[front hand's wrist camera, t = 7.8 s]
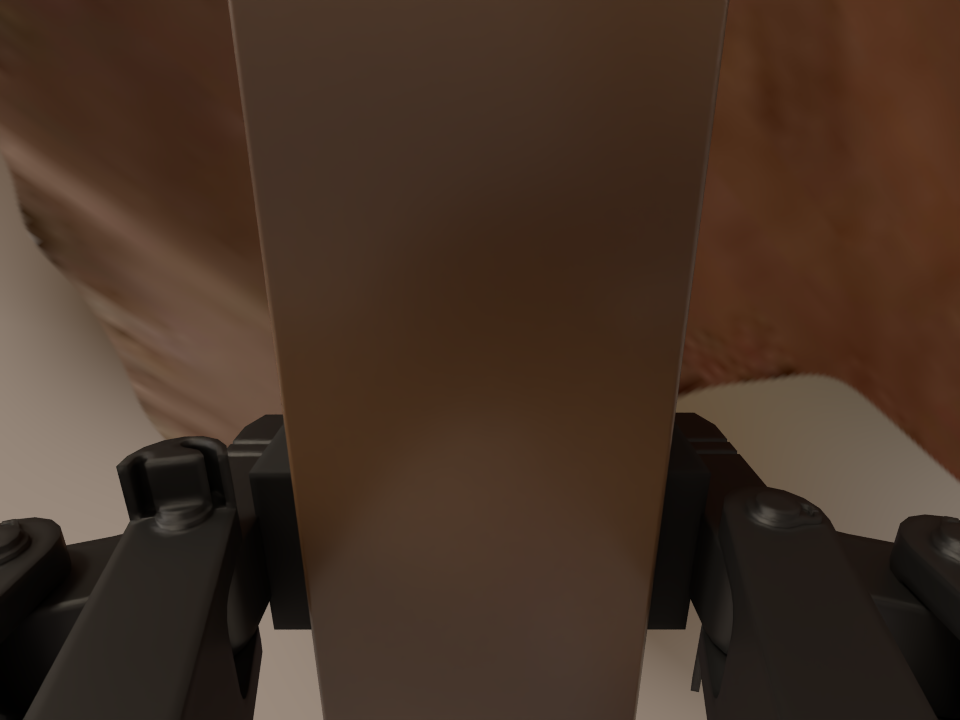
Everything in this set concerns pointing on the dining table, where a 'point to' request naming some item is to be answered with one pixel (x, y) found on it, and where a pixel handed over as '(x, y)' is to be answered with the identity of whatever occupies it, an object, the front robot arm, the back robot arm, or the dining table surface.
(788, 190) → the dining table surface
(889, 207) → the dining table surface
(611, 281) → the bar
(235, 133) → the dining table surface
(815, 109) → the dining table surface
